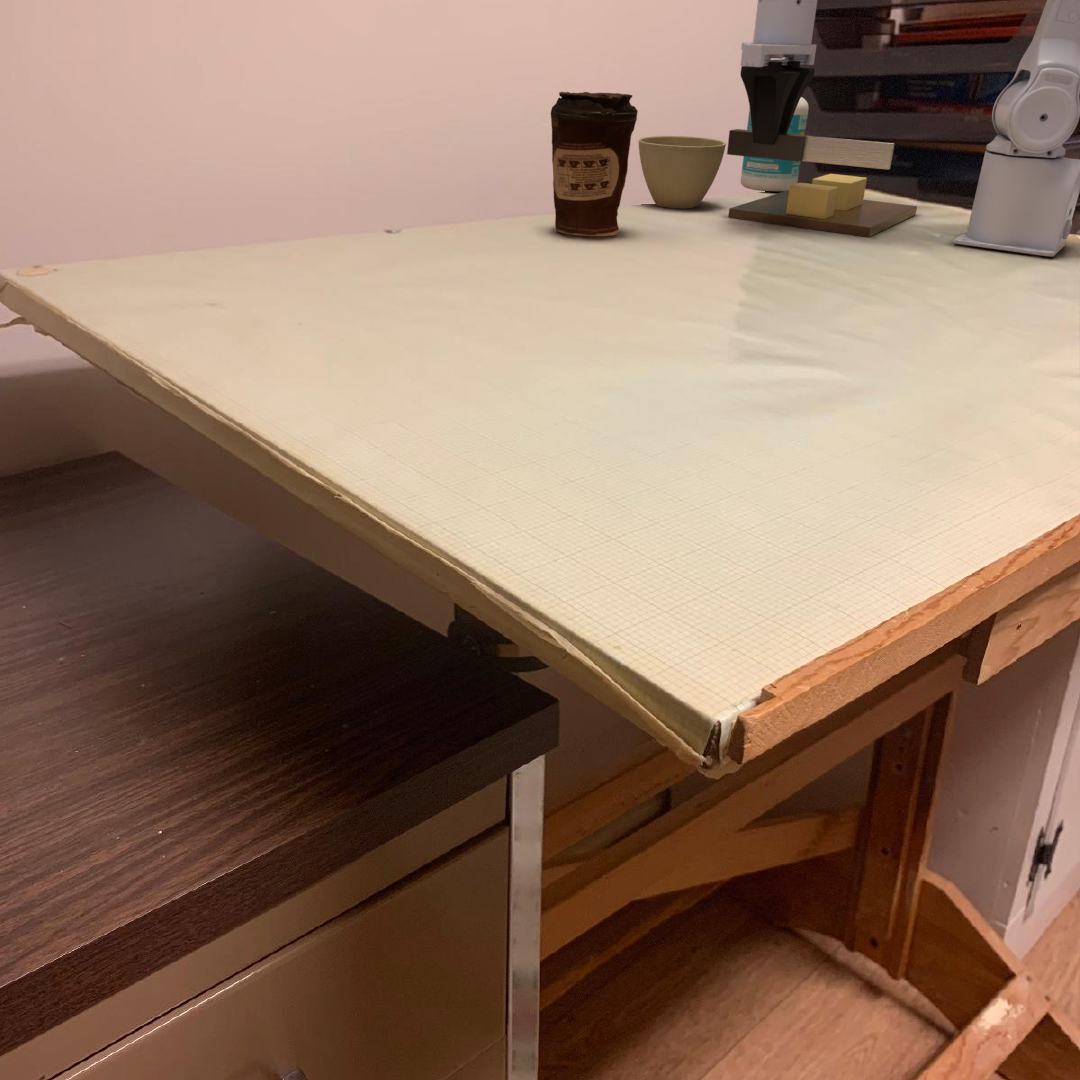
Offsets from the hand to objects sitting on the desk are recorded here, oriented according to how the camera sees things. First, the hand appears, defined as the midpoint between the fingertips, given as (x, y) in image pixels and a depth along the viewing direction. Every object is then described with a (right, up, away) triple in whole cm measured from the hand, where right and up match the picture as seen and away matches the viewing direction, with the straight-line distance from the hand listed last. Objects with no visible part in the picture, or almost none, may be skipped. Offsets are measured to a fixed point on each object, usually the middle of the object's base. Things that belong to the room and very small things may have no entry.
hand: (768, 142), depth 103 cm
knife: (+3, -2, -1) cm, 4 cm away
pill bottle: (+6, +5, +28) cm, 29 cm away
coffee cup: (-19, -10, -3) cm, 22 cm away
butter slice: (+6, -6, +5) cm, 10 cm away
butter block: (+10, -3, +12) cm, 16 cm away
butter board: (+9, -4, +11) cm, 15 cm away
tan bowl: (-8, -2, +14) cm, 16 cm away
